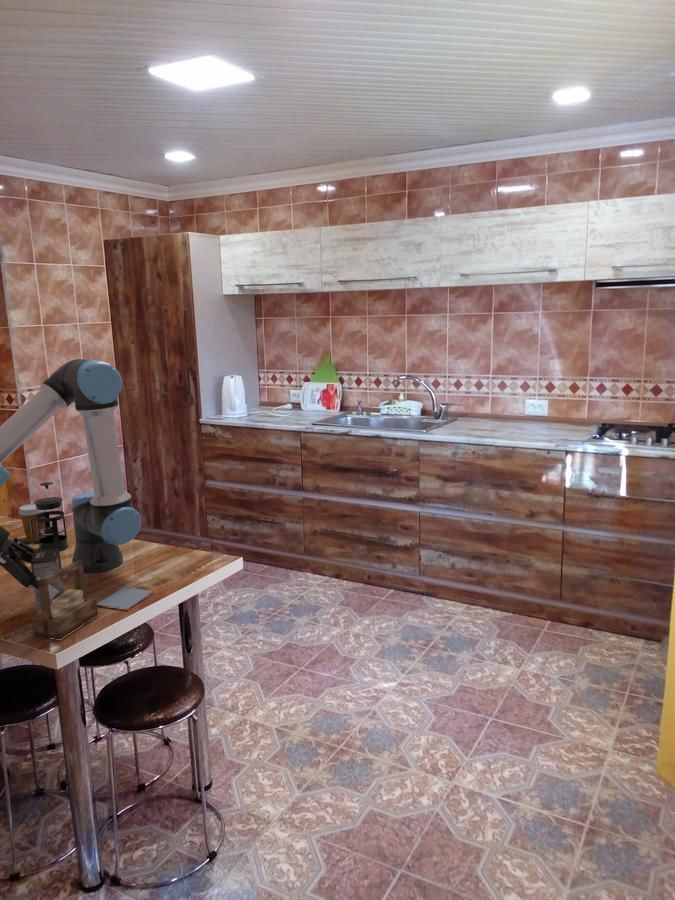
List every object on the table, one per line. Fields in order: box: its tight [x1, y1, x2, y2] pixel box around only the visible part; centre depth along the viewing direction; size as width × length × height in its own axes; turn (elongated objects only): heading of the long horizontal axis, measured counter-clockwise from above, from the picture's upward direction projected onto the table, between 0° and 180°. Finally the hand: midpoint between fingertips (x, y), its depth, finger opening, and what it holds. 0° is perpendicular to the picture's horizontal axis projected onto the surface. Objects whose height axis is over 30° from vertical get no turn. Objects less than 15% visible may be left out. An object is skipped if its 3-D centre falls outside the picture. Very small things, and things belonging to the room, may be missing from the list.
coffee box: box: [30, 548, 65, 615], centre depth 177 cm, size 9×6×16 cm
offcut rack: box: [31, 560, 99, 639], centre depth 168 cm, size 14×8×15 cm, turn 161°
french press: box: [30, 481, 69, 552], centre depth 226 cm, size 12×9×23 cm
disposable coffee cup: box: [18, 502, 48, 543], centre depth 237 cm, size 10×10×12 cm
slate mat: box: [97, 586, 153, 609], centre depth 185 cm, size 12×10×1 cm
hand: (59, 587), depth 178 cm, fingers open, 10 cm apart
